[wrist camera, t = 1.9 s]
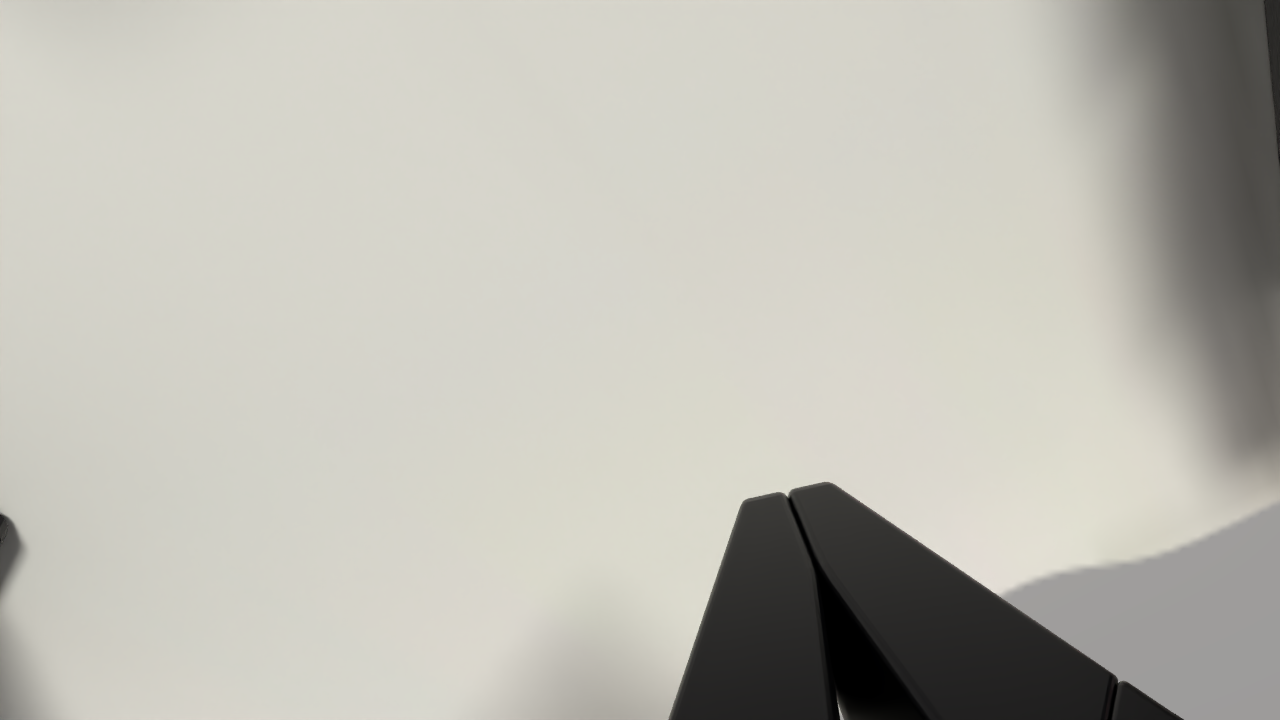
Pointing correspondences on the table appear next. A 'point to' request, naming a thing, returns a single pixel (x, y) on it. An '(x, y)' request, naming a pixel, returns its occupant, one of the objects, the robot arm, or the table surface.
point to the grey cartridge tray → (1274, 54)
